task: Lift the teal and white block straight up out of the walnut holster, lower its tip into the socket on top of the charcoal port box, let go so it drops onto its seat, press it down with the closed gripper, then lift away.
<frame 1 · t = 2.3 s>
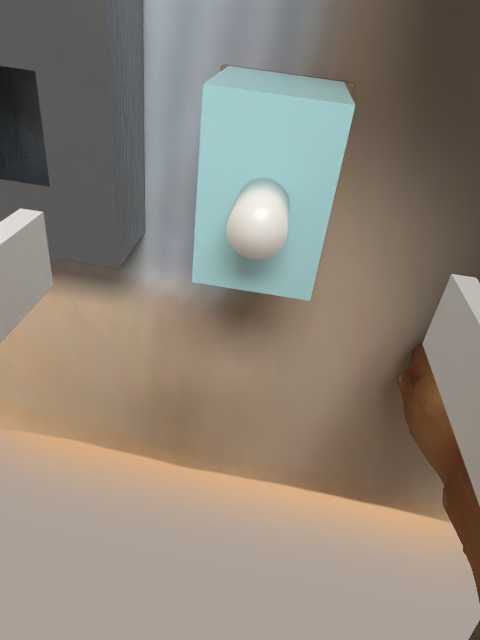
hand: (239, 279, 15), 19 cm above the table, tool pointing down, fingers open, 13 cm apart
teal and white block: (277, 145, 30), point 1 cm above the table, touching holster
port: (56, 108, 31), on the table
butternut squash: (479, 341, 37), on the table
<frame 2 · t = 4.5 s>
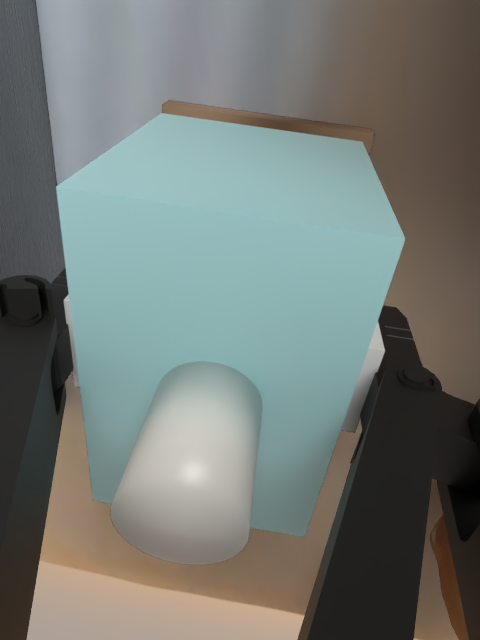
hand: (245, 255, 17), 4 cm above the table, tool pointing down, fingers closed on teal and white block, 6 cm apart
teal and white block: (254, 220, 19), point 1 cm above the table, touching gripper, holster
holster: (256, 211, 20), on the table
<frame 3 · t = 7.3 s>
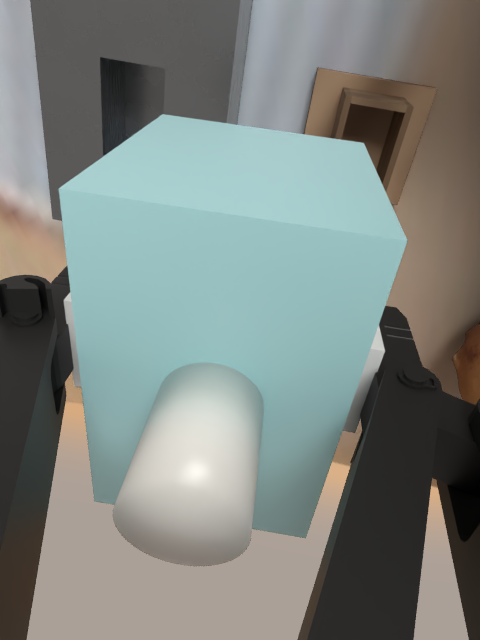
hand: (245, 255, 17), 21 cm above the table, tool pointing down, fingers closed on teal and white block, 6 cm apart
teal and white block: (255, 221, 19), point 18 cm above the table, touching gripper
port: (158, 102, 34), on the table
holster: (359, 138, 34), on the table
when the fingers open (7 cm above the table, at t = 10.5 s): teal and white block drops 1 cm, resting on port.
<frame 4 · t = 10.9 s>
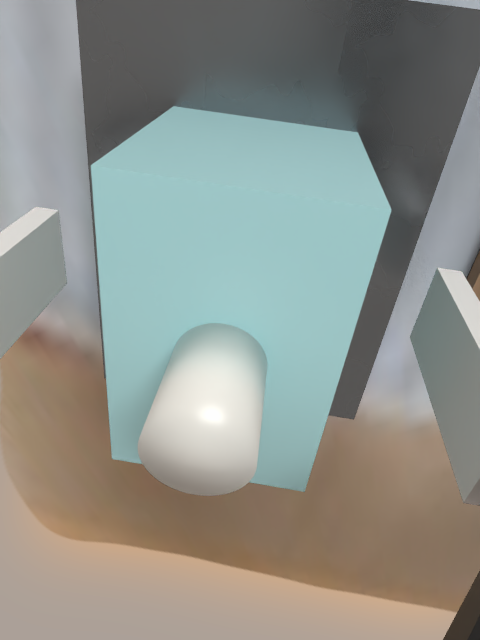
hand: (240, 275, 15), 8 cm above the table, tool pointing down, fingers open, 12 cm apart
teal and white block: (257, 208, 21), point 2 cm above the table, touching port
port: (260, 193, 22), on the table
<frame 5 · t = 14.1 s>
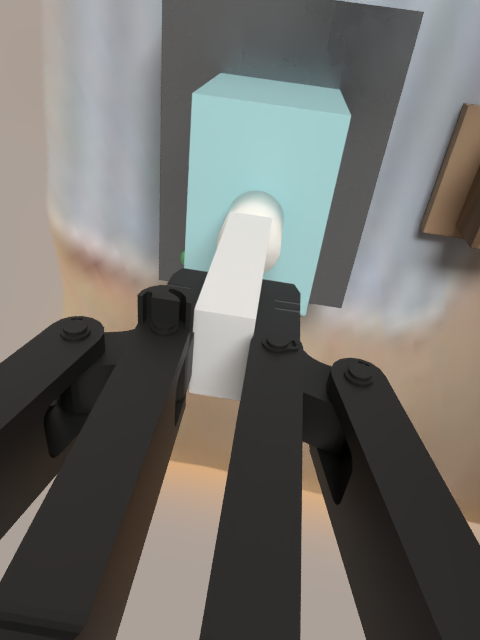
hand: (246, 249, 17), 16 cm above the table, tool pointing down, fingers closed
teal and white block: (271, 153, 29), point 2 cm above the table, touching gripper, port
port: (273, 144, 30), on the table
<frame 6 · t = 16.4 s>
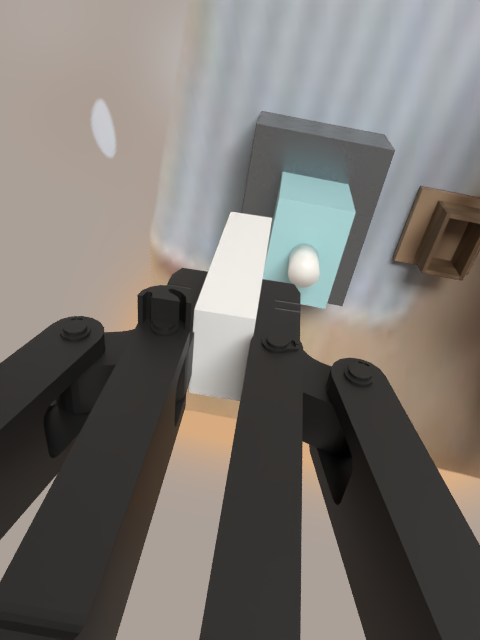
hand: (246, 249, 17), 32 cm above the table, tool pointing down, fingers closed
teal and white block: (303, 209, 47), point 2 cm above the table, touching port
port: (303, 202, 49), on the table
holster: (443, 230, 49), on the table
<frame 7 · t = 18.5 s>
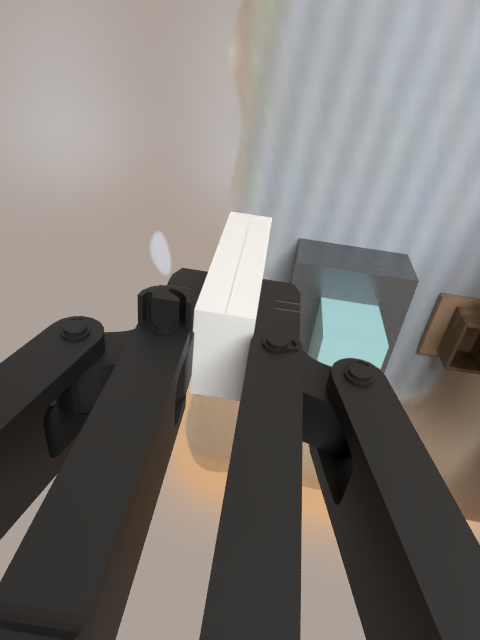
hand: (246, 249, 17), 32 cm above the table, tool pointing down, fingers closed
teal and white block: (337, 316, 54), point 2 cm above the table, touching port
port: (336, 307, 55), on the table
holster: (462, 326, 55), on the table
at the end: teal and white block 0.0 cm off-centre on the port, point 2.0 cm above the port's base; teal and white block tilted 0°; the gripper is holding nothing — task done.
